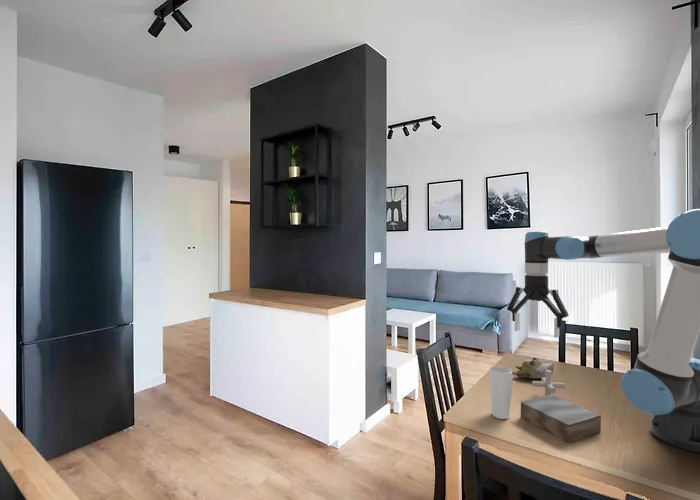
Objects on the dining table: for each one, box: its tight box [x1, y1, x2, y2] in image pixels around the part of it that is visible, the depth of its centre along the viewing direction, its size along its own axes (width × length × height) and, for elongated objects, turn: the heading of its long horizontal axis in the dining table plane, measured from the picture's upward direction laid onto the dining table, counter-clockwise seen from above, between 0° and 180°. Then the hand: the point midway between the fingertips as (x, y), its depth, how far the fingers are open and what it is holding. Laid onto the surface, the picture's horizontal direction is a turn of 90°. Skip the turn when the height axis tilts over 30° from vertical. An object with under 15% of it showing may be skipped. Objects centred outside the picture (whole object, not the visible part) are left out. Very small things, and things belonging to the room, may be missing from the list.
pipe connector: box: [531, 370, 566, 396], centre depth 133 cm, size 10×10×10 cm
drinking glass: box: [489, 365, 514, 420], centre depth 120 cm, size 7×7×15 cm
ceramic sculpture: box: [513, 357, 555, 380], centre depth 152 cm, size 11×9×15 cm
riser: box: [520, 393, 602, 443], centre depth 115 cm, size 16×14×5 cm
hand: (536, 333), depth 136 cm, fingers open, 13 cm apart
